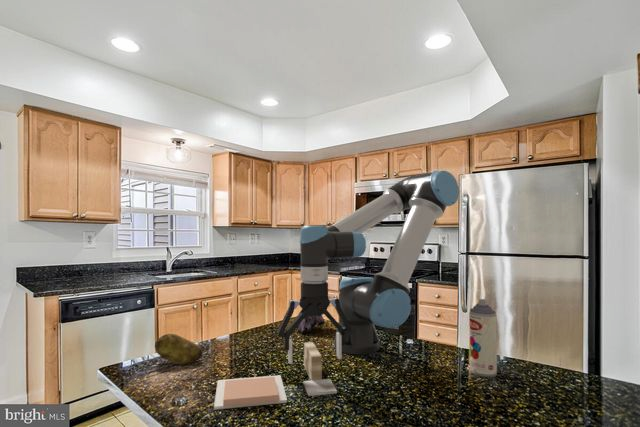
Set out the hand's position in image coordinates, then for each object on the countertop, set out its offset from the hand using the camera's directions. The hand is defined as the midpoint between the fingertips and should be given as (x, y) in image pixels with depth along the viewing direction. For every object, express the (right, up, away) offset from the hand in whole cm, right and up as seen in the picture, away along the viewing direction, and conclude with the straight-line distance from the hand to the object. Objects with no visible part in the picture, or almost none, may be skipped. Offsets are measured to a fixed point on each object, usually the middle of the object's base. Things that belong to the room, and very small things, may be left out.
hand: (315, 359), depth 98 cm
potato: (-40, -4, +7) cm, 41 cm away
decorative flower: (-1, -6, +42) cm, 42 cm away
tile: (-16, -2, -9) cm, 18 cm away
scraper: (0, -4, -3) cm, 5 cm away
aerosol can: (+47, -4, +2) cm, 47 cm away
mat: (-15, -3, -11) cm, 19 cm away
